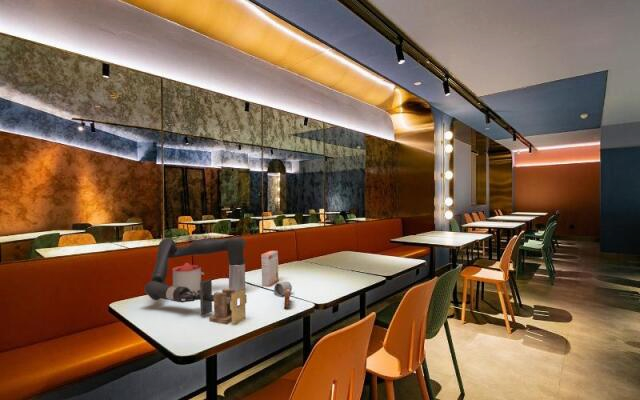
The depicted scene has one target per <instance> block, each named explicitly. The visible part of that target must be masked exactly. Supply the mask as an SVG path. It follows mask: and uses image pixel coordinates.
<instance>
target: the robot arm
mask: <svg viewBox="0 0 640 400" xmlns="http://www.w3.org/2000/svg"><path fill="white" fill-rule="evenodd" d="M246 246H247V241H246V240H245V239H244V238H243V237H240V236H235V237H230V238H216V239H215V238H207V239H205V238H204V239H196V240H194V241H192V242H191V243H189V244H188V245H185V246H177V244H176V242H175V240H174V239H172V238H170V237H166V238H163V239H162V240H161V241H160V242H159V243H158V247H157V255H156V261H155V266H154V269H153V272H152V275H151V277H150V278H151V279H150V280H151V281H149V282H148V283H146V284H145V286H144V288H143V289H144V293H146V294H147V296H148V297H150V299H152V300H154V301H158V300H160V299H162V300H166V301H172V302H177V303H189V302H195V301H200V290H198V291H197V292H195V291H190V290H189V288H187V287H180V286H173V285H168V284H166V277H167V274H168V271H169V270H168V269H169V259H175V258H179V257H188V256H203V255H205V256H206V255H211V254H216V253H220V252H221V253H222V252H227V260H228V269H229V270H228V273H229V274H228V275H229V276H228V289H232V290H235V292H236V291H238V290H240V289H245V290H246V261H245V260H246V259H245V257H244V250H245V248H246Z"/></svg>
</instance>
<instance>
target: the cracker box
mask: <svg viewBox="0 0 640 400" xmlns="http://www.w3.org/2000/svg"><path fill="white" fill-rule="evenodd" d="M278 252H279V251H278V250H270V251H266V252H264V253H261V254H260V255H261V286H262V287H271V286H273V285H276V284H277V283H279V255H278Z"/></svg>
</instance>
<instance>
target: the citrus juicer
mask: <svg viewBox="0 0 640 400" xmlns="http://www.w3.org/2000/svg"><path fill="white" fill-rule="evenodd" d="M202 275H204V276H205V272H203V271H202V267H201V266H200V267H199V265H197V264H190V263H188V262H185V263H184V264H183V265H180V266H175V267H173V268H172V286H180V287H187V288H189V290H190V291H195V292H197V291H198V290H200V282H202Z"/></svg>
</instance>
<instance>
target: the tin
mask: <svg viewBox="0 0 640 400" xmlns="http://www.w3.org/2000/svg"><path fill="white" fill-rule="evenodd" d="M290 296H291V292H290V288H285V295H284V303H283V304H284V306H283V308H285V309H286V308H287V309H289V308H290V298H291V297H290Z"/></svg>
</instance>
